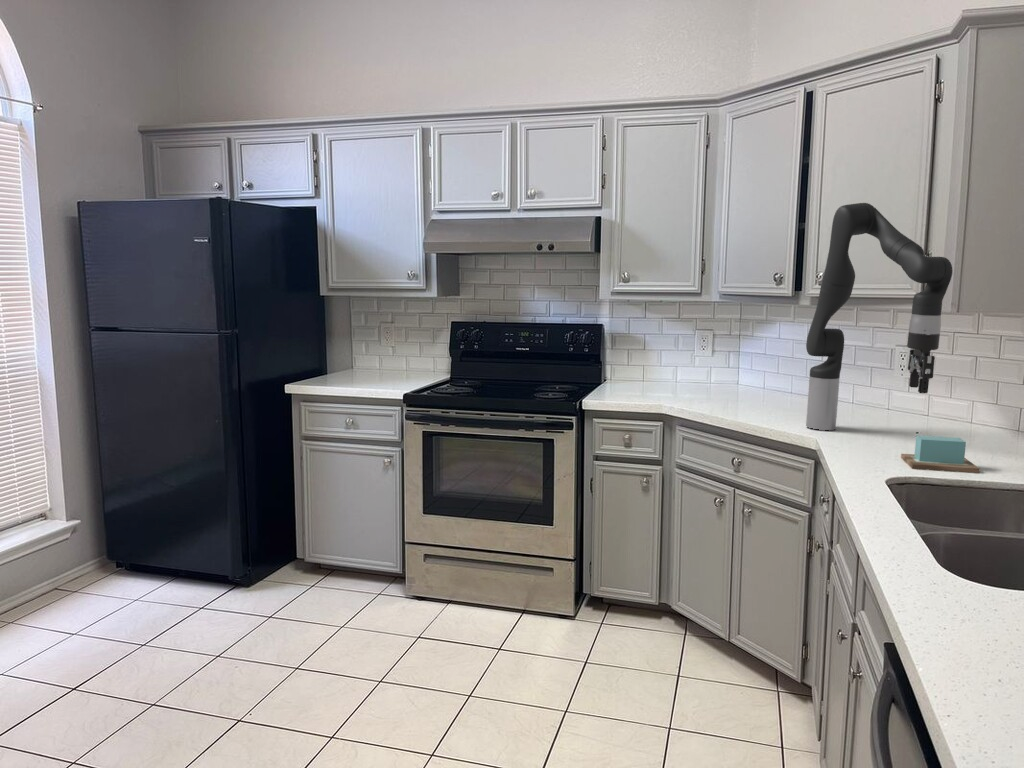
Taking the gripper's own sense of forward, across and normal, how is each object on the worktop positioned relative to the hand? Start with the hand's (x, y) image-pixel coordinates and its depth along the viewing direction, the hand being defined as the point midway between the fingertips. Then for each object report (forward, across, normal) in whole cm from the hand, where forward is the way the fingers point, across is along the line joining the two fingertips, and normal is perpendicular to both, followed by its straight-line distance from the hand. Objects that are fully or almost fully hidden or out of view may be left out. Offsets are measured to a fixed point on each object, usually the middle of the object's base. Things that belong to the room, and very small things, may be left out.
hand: (918, 390), depth 208 cm
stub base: (+20, +5, +6) cm, 21 cm away
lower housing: (+18, +4, +6) cm, 20 cm away
